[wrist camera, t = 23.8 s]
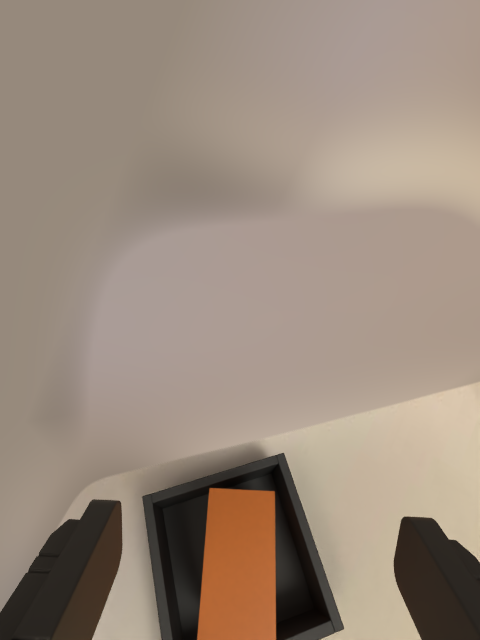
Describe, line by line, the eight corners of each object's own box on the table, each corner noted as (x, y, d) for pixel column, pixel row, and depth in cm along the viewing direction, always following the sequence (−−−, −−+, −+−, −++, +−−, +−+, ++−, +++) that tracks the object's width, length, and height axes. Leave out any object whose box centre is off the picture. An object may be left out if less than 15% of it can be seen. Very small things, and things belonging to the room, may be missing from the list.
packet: (205, 613, 32) (196, 646, 22) (213, 502, 37) (209, 487, 27) (260, 615, 32) (276, 650, 22) (261, 505, 37) (274, 491, 27)
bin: (180, 672, 31) (170, 702, 25) (154, 503, 37) (142, 496, 32) (323, 613, 33) (344, 629, 27) (275, 465, 40) (283, 452, 34)
